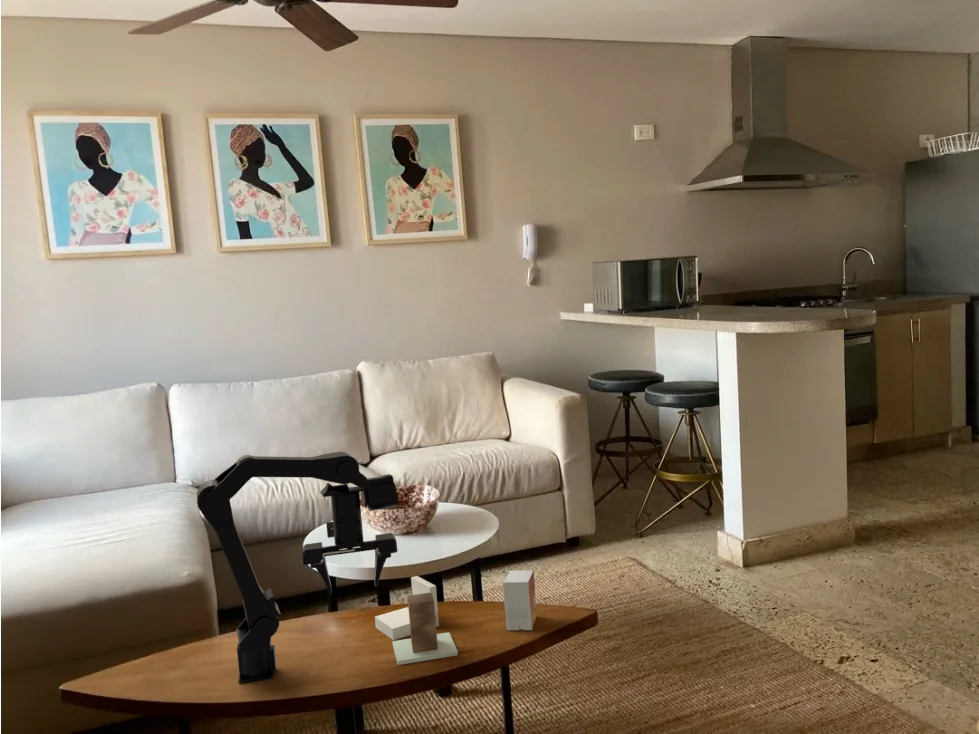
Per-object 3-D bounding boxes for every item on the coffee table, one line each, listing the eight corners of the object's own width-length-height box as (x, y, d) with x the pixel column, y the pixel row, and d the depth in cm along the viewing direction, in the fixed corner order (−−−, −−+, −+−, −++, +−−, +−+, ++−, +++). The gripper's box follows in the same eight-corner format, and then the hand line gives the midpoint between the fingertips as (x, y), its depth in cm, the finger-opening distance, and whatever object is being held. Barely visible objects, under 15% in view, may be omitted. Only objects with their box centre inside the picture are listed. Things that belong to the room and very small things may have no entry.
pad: (397, 665, 156) (397, 661, 156) (392, 645, 166) (392, 641, 166) (457, 655, 159) (457, 651, 159) (449, 635, 168) (449, 632, 168)
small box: (532, 631, 168) (528, 582, 167) (506, 630, 169) (502, 582, 168) (537, 616, 176) (534, 569, 175) (512, 616, 177) (509, 569, 176)
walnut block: (412, 652, 159) (408, 604, 159) (411, 643, 164) (407, 595, 163) (437, 649, 160) (434, 600, 159) (435, 639, 165) (431, 592, 164)
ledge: (393, 640, 168) (389, 598, 168) (375, 627, 176) (372, 587, 175) (439, 626, 174) (435, 585, 173) (420, 614, 182) (416, 575, 181)
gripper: (389, 500, 172) (395, 571, 173) (300, 511, 168) (307, 583, 169) (394, 512, 161) (400, 587, 162) (299, 524, 157) (306, 601, 158)
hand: (353, 589), depth 163 cm, fingers open, 9 cm apart
